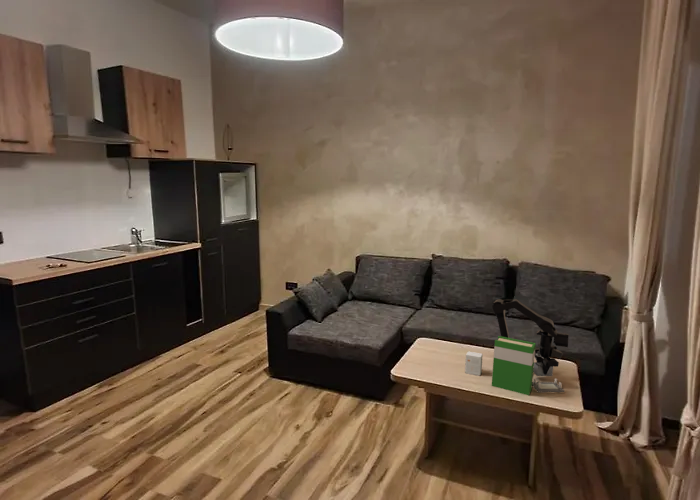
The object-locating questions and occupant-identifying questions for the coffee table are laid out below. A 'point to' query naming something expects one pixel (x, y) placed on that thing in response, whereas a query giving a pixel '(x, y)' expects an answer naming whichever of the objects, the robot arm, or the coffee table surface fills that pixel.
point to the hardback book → (513, 365)
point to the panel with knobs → (547, 386)
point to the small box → (473, 363)
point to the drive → (541, 370)
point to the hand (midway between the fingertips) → (542, 372)
